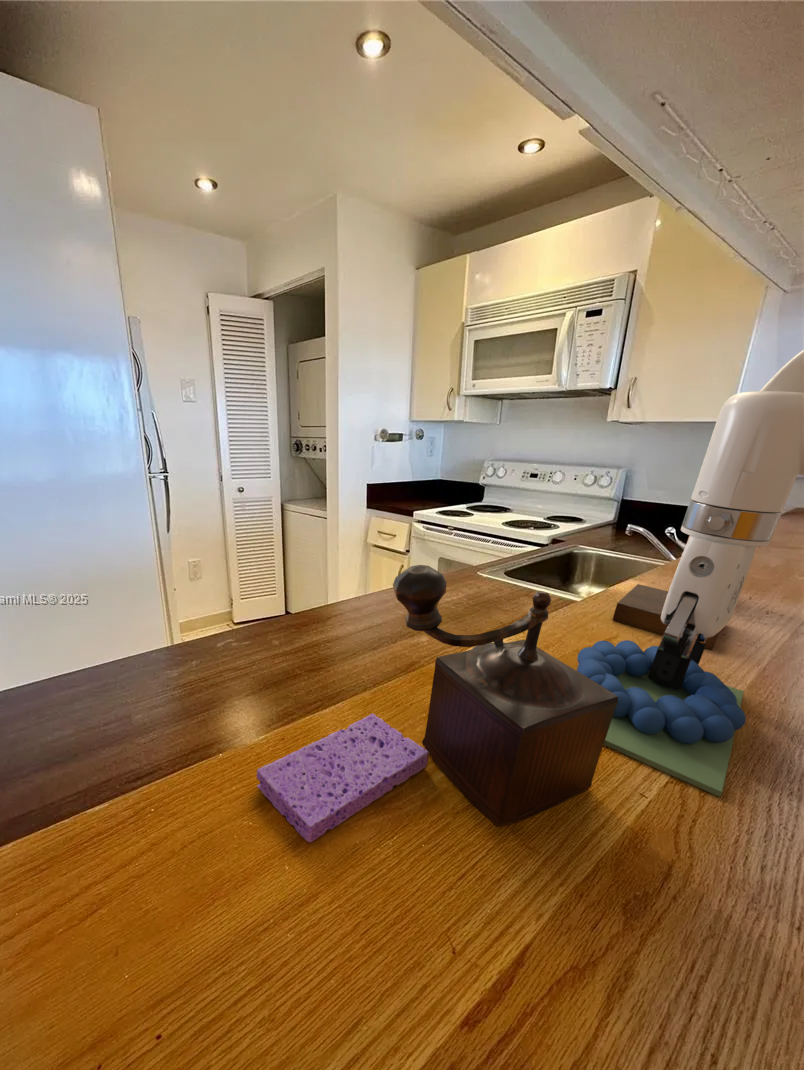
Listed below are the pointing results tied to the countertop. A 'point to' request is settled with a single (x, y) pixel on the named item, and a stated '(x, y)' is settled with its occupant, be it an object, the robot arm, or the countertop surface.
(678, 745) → the mat
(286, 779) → the sponge
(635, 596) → the platform
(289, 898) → the countertop surface
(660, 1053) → the countertop surface
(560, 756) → the dark brown coffee grinder
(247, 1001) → the countertop surface
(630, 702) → the ring
